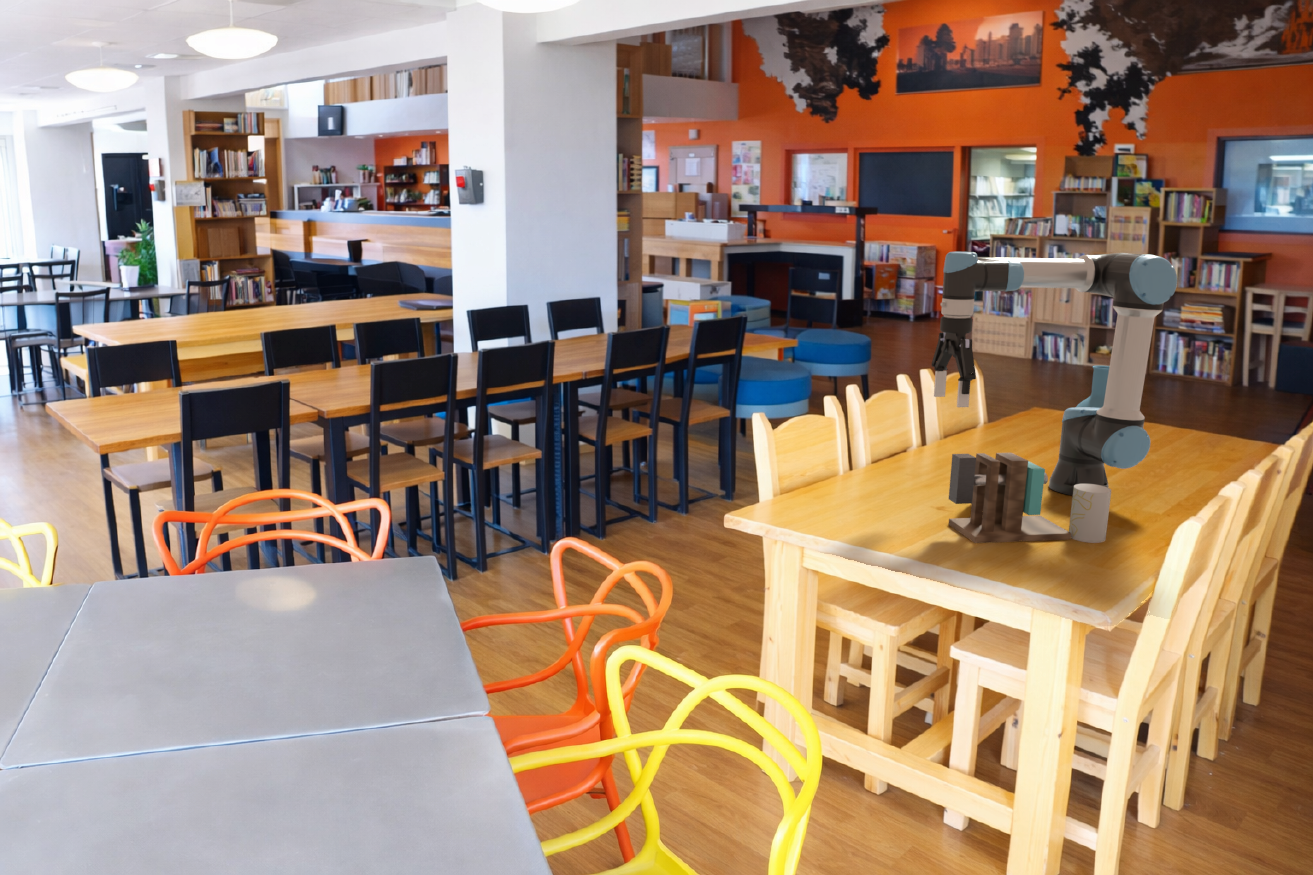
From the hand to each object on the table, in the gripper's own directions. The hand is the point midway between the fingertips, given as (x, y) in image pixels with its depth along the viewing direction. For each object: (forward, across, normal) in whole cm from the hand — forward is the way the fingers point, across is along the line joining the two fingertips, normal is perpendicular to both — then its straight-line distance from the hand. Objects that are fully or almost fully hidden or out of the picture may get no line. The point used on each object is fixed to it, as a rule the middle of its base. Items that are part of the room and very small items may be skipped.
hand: (950, 401), depth 259 cm
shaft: (+20, +18, +5) cm, 28 cm away
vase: (+30, -71, +85) cm, 115 cm away
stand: (+28, +18, +8) cm, 35 cm away
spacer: (+22, +18, +12) cm, 31 cm away
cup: (+29, +24, +25) cm, 45 cm away
